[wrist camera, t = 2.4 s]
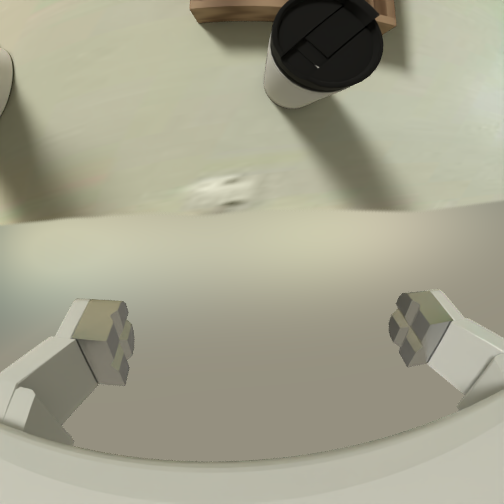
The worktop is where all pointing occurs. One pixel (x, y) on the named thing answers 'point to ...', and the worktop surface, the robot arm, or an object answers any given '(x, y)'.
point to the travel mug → (320, 49)
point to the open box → (272, 11)
